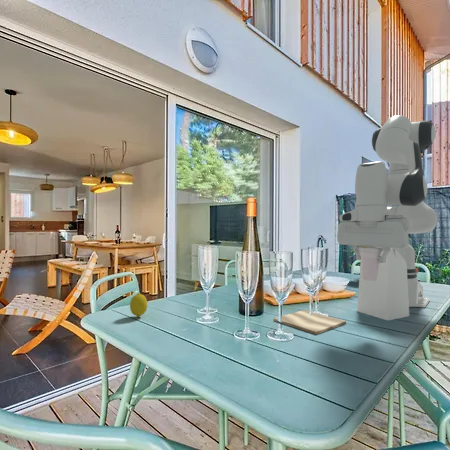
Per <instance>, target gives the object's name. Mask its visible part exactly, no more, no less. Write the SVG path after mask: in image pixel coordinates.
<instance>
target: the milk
mask: <svg viewBox="0 0 450 450" xmlns="http://www.w3.org/2000/svg"><path fill="white" fill-rule="evenodd" d="M380 248H382V247H380ZM383 252H384V251H382V252H381V255H380V256H382V254H383ZM359 266H360V267H359V277H358V278H359V281H358V295H357V309H356V311H357V312H358V313H362V314H364V315H369V316H371V317H375V318H378V319H381V320H385V321H392V320H397V319H402V318H406V317H410V307H409V299H408V280H407V264H406V261H405V259H404V258H403V257H402V256H401V255H400V253H399V252H398V251H397V250H396V249H395V248H390V252H389V253H388V255H387V256H386V262H385V263H380V262H379V269H378V276H377V281H368V280H364V279H363V272H362V264H361V262H360V265H359Z"/></svg>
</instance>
